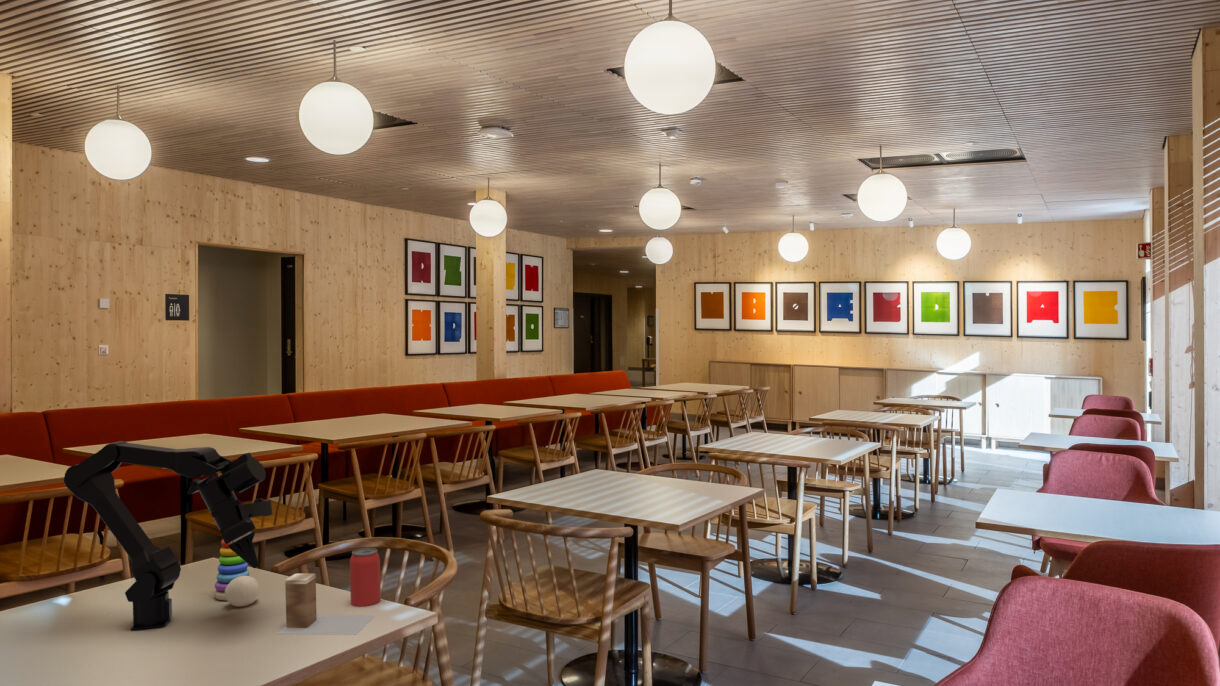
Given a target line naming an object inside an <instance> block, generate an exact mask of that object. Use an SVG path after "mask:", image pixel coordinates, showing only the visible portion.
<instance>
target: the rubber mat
mask: <svg viewBox="0 0 1220 686" xmlns="http://www.w3.org/2000/svg"><path fill="white" fill-rule="evenodd" d="M375 617H376V614H368V615H367V614H317V620H316V621H315V622H314V623H313V624H311V625H310V626H309V627H308V628H286V625H284V626H283V627H282V628H281V629H280V630H278V631H277V632H275V635H321V636H322V635H326V636H327V635H335V636H336V635H337V636H339V635H340V636H342V635H345V636H348V635H349V636H357V635H358V634H359V633H360V632H361V631H362V630H363V629H364V628H365V627H366V626H367V624H369V623H370V622H371V621H372V620H373V619H374V618H375Z"/></svg>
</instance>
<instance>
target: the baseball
mask: <svg viewBox="0 0 1220 686" xmlns="http://www.w3.org/2000/svg"><path fill="white" fill-rule="evenodd" d="M259 594H260V586H259V583H258V581H257V579H255V578H254V577H253V576H250V575H249V576H240V577H237V578H235V579H233V580H232V581H231V582H230V583H229V584H228V585H227V586H226V588H225V598H226V599H227V600H226V601H227V602H228V603H229V604H231V605H232V606H233V607H238V608H239V607H240V608H241V607H247V606H250V605H251V604H253V603H254V602H256V600H257V598H258V596H259Z"/></svg>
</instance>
